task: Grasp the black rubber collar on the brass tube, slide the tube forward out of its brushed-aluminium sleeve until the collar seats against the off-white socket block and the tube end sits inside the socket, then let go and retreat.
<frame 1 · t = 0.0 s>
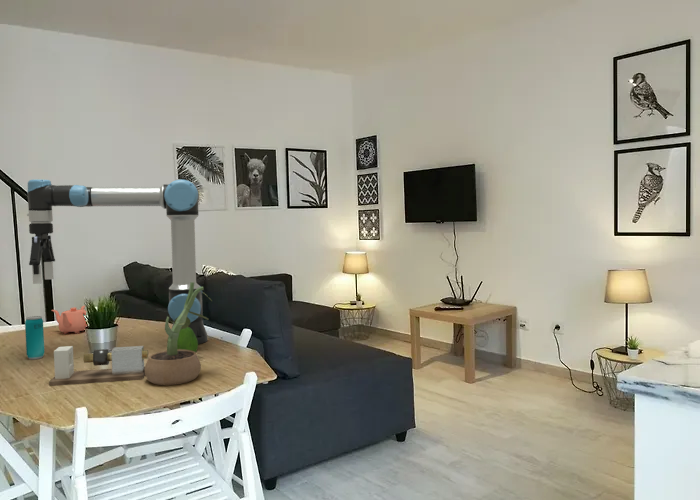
hand: (43, 281, 206), 28 cm above the table, fingers open, 13 cm apart
socket: (64, 379, 179), resting on board
teapot: (71, 332, 253), on the table
tube: (116, 356, 182), point 7 cm above the table, slide at 0.0 cm
board: (100, 377, 181), on the table
potted plant: (182, 377, 180), on the table
sleeve: (128, 375, 183), resting on board
beverage can: (35, 358, 207), on the table
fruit: (186, 359, 203), on the table
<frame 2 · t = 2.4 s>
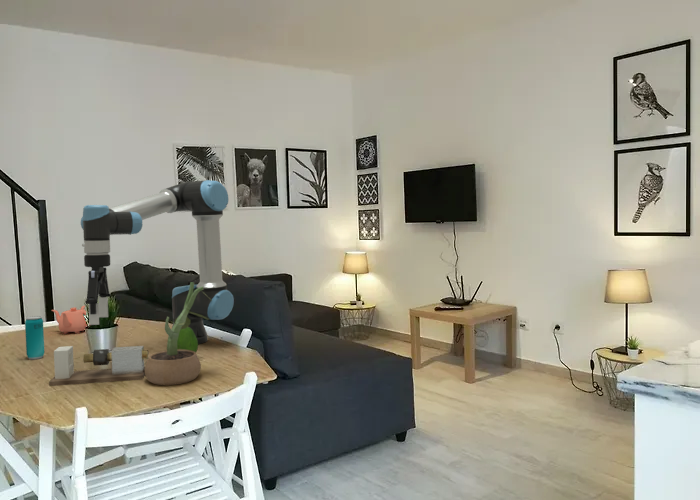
hand: (99, 320, 180), 18 cm above the table, fingers open, 13 cm apart
nothing on the table moved.
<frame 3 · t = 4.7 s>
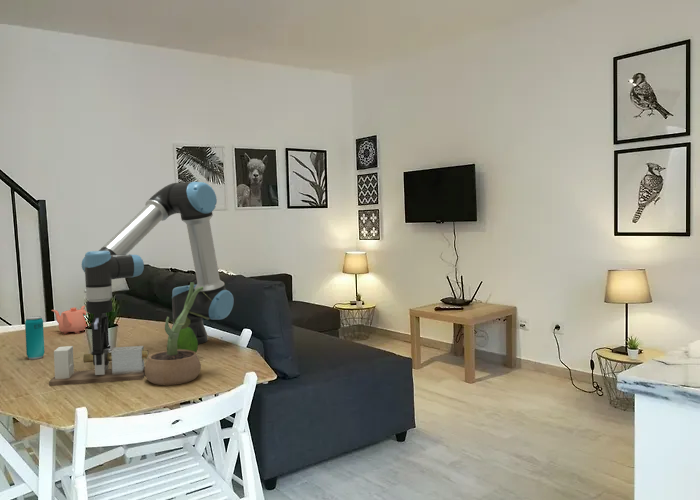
hand: (101, 371, 181), 2 cm above the table, fingers closed on tube, 5 cm apart
tube: (116, 356, 182), point 6 cm above the table, slide at 0.0 cm, touching gripper
everything else where it was.
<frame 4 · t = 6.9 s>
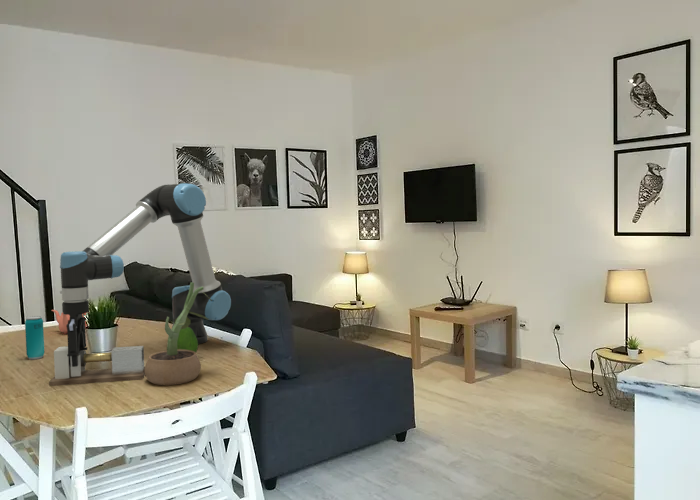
hand: (78, 373, 179), 2 cm above the table, fingers closed on tube, 5 cm apart
tube: (93, 357, 180), point 6 cm above the table, slide at 7.0 cm, touching gripper
everything else where it was.
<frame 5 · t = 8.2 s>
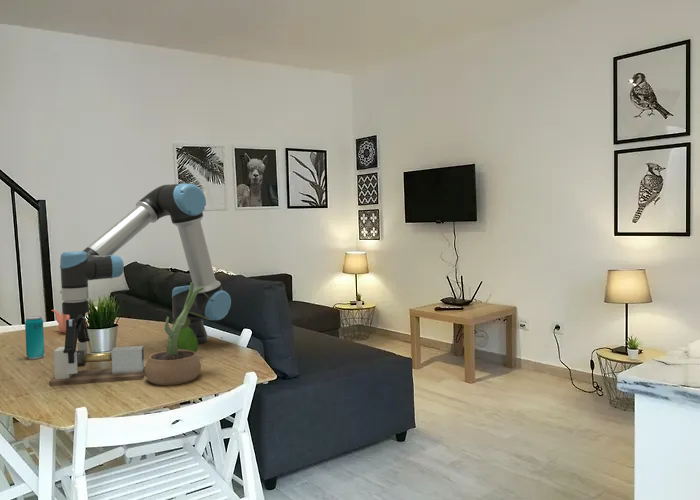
hand: (78, 367, 179), 4 cm above the table, fingers open, 13 cm apart
tube: (93, 357, 180), point 6 cm above the table, slide at 7.0 cm
everything else where it was.
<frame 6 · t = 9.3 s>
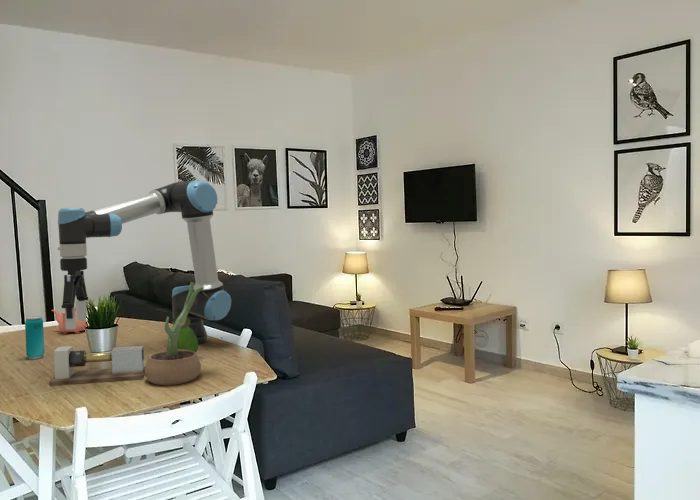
hand: (76, 324, 178), 17 cm above the table, fingers open, 13 cm apart
nothing on the table moved.
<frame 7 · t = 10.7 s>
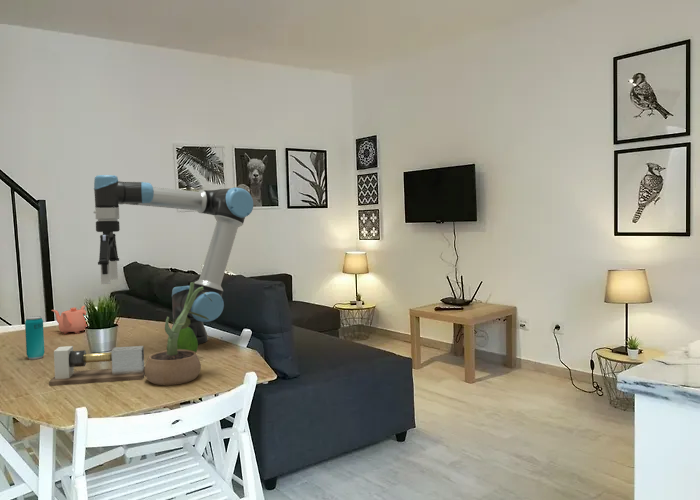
hand: (109, 281, 197), 29 cm above the table, fingers open, 13 cm apart
nothing on the table moved.
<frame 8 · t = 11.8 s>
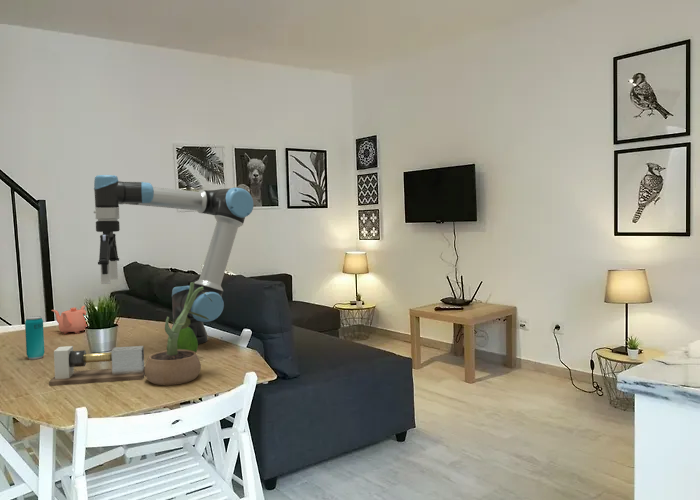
hand: (109, 281, 197), 29 cm above the table, fingers open, 13 cm apart
nothing on the table moved.
at the end: tube slide at 7.0 cm; the gripper is holding nothing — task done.
